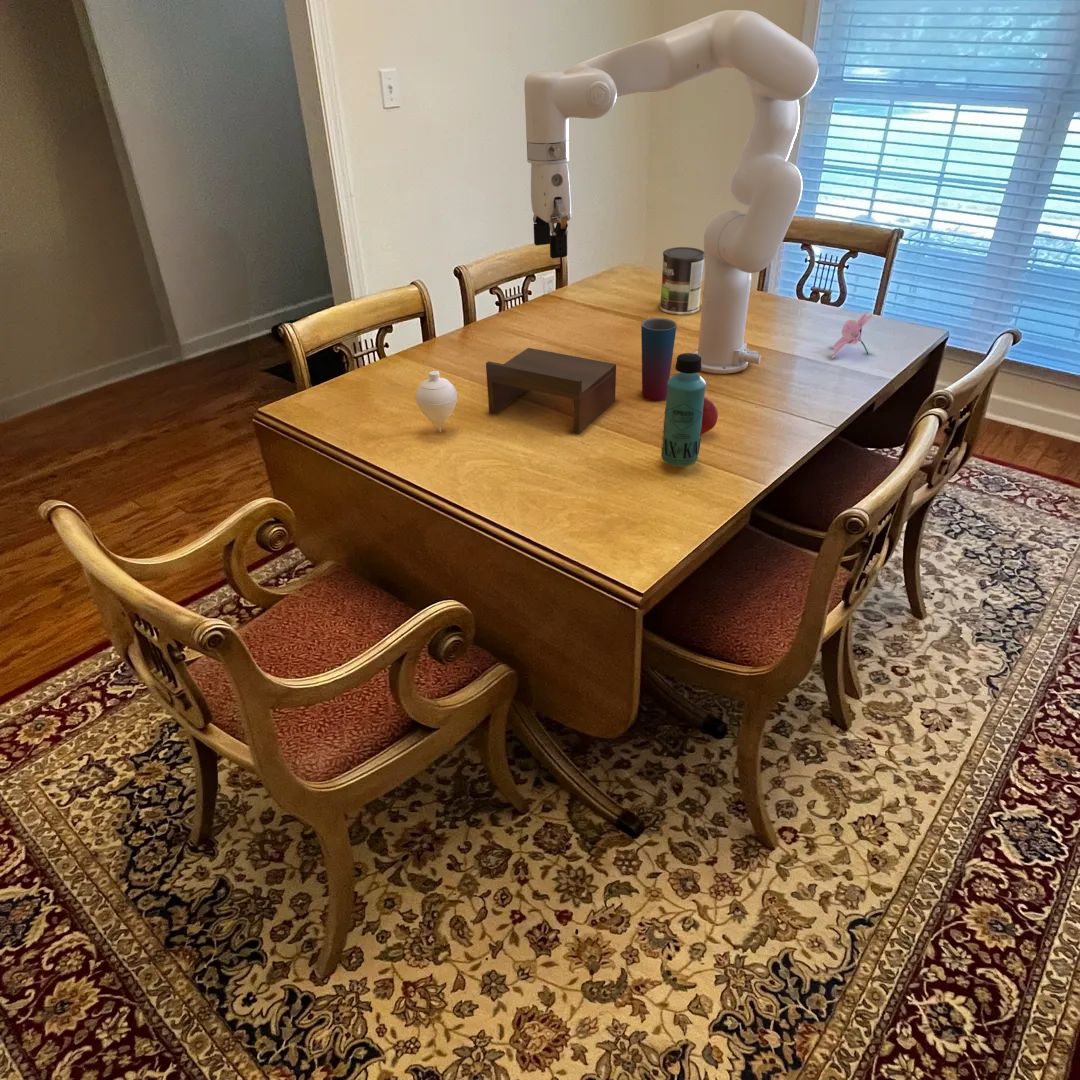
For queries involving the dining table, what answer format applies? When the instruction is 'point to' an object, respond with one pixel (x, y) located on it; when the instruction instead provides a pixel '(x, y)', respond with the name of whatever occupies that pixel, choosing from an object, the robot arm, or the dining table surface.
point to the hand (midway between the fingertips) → (550, 250)
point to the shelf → (554, 382)
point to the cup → (656, 356)
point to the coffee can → (681, 280)
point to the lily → (851, 333)
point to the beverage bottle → (683, 412)
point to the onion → (708, 416)
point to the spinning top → (436, 399)
